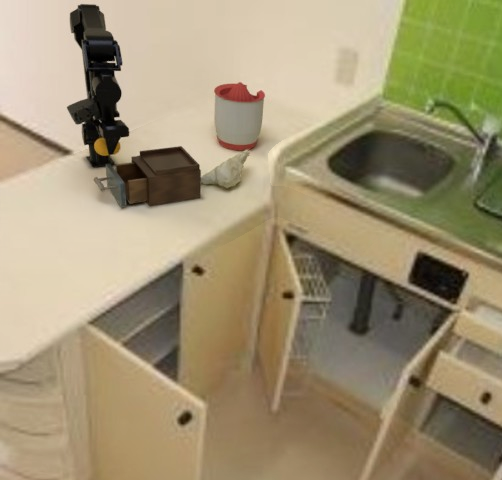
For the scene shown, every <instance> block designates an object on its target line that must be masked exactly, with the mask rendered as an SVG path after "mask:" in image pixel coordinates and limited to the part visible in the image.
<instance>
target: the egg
mask: <svg viewBox="0 0 502 480" xmlns="http://www.w3.org/2000/svg"><path fill="white" fill-rule="evenodd" d="M94 148H95V151H96V152H97V153H98V154H100V155H103V156H106V155H109V154H108V151H107V148H106V144H105V140H104V138H99V139H97V140H96V142H95V144H94ZM120 150H121V142H120V141H119V142H118V144H117V146H116V149H115V151H114V153H113V154H112V155H111V156H114V155H117V154H118V153H119V152H120Z"/></svg>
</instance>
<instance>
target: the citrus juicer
mask: <svg viewBox="0 0 502 480" xmlns="http://www.w3.org/2000/svg"><path fill="white" fill-rule="evenodd" d="M213 93H214V119H213V120H214V128H215V129H214V130H215V133H216V138H217V140H218V143H219V144H220V145H221V146H222V147H224V148H226V149H228V150H234V151H237V152H240V151H241V152H242V151H245V150H247V149H248V150H251V149H252V148H255V146H256V144H257V142H258V140H259V137H260V134H261V130H262V126H263V116H264V104H265V103H264V102H265V97H266V94H265V92H264V91H263V90H259V91H257V92H256V94H255V95H254V94H252V93H250V91H249V90H248V84H244V83H243V82H241V81H239V82H236V83H224V84H220V85H218V86H216V87H215V88H214V90H213Z"/></svg>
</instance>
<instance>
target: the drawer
mask: <svg viewBox="0 0 502 480" xmlns="http://www.w3.org/2000/svg"><path fill="white" fill-rule="evenodd" d="M105 173H106V174H105V175H106V177H98V176H94V177H93V179H92V181H93V183H94V184H95V185H96V187H97V188H98V190H99V192H101V193H104V192H105V191H106V190H107V191H108V190H109V192H110V193H111V194H112V196H113V197H114V199H115V200H116V201H117V203H118V204H119V205H120V207H121V208H124V207H125V208H126V207H127V202H128V203H129V204H130V205H131V204H138V203H143V202H146V201H149V196H148V178H147V177H146V176H145V175H144V174H143V172H142V171H141V170H140V169H139V167H138V166H137V165H136V164H135V163H134V162H132V161H131V162H125V163H117V164H116V163H115V168H114V166H113V165H111V164H106V166H105ZM104 181H106V186H105V185H104V184H103V183H102V182H104Z"/></svg>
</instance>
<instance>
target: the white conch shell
mask: <svg viewBox="0 0 502 480" xmlns="http://www.w3.org/2000/svg"><path fill="white" fill-rule="evenodd" d="M250 153H251V152H250V151H249V149H247V150H242V151H241V152H240V153H238V154H236V155H234V156H232V157H229V158H228V159H226V160H225V161H223V162H221V163H220V164H219V165H217V166H215V167H214V168H213V169H212V170H209V171H208V172H206V173H205V174H203V175H201V184H203V185H206V186H207V185H208V184H210V185H211V184H212V185H219V186H220V187H223V188H226V189H229V188H231V187H235V186H236V185H237V184H238V183H239V182H240V181H242V171H243V169H244V164H245V162H246V161H247V158H248V157H249V156H250Z"/></svg>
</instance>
